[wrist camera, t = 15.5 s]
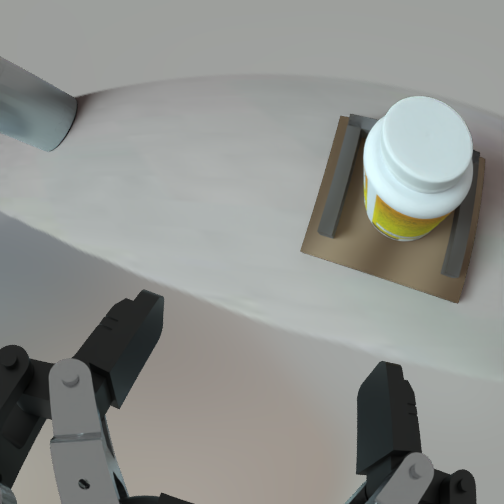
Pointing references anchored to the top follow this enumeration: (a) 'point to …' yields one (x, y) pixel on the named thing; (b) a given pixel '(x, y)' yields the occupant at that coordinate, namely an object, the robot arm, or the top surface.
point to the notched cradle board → (377, 244)
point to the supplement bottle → (416, 167)
